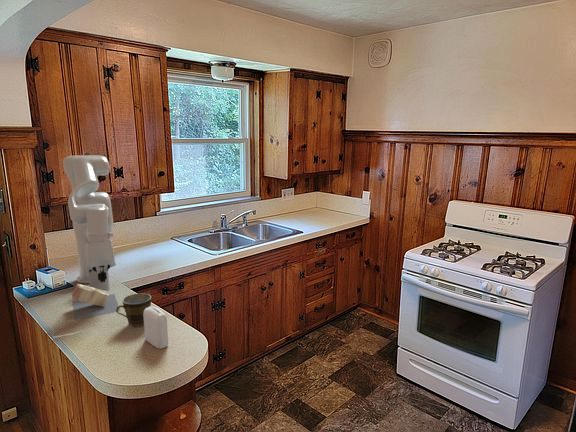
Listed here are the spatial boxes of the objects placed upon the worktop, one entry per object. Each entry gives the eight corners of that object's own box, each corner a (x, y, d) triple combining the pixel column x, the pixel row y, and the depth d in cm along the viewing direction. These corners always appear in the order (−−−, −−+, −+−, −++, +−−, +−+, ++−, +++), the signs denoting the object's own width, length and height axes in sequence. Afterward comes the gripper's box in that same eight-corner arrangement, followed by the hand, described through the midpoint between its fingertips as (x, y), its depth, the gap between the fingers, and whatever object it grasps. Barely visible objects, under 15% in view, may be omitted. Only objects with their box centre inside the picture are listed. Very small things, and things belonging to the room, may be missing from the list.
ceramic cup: (143, 315, 150) (142, 291, 148) (158, 322, 144) (156, 297, 142) (111, 327, 140) (109, 301, 138) (125, 336, 134) (123, 309, 132)
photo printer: (143, 339, 132) (140, 306, 129) (154, 335, 135) (152, 302, 132) (158, 350, 125) (156, 315, 123) (170, 345, 128) (168, 311, 126)
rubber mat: (72, 302, 161) (72, 301, 161) (114, 295, 169) (114, 293, 169) (74, 321, 144) (74, 320, 144) (120, 312, 152) (120, 310, 152)
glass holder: (90, 297, 167) (87, 264, 164) (86, 286, 178) (83, 255, 176) (112, 293, 172) (109, 260, 169) (107, 283, 183) (104, 253, 180)
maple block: (102, 302, 160) (72, 295, 154) (107, 291, 160) (77, 283, 154) (103, 306, 156) (72, 299, 149) (109, 295, 156) (78, 287, 150)
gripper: (117, 233, 160) (120, 275, 163) (76, 238, 152) (81, 281, 156) (120, 237, 154) (123, 281, 157) (78, 242, 146) (82, 287, 149)
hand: (102, 281), depth 156 cm, fingers closed
